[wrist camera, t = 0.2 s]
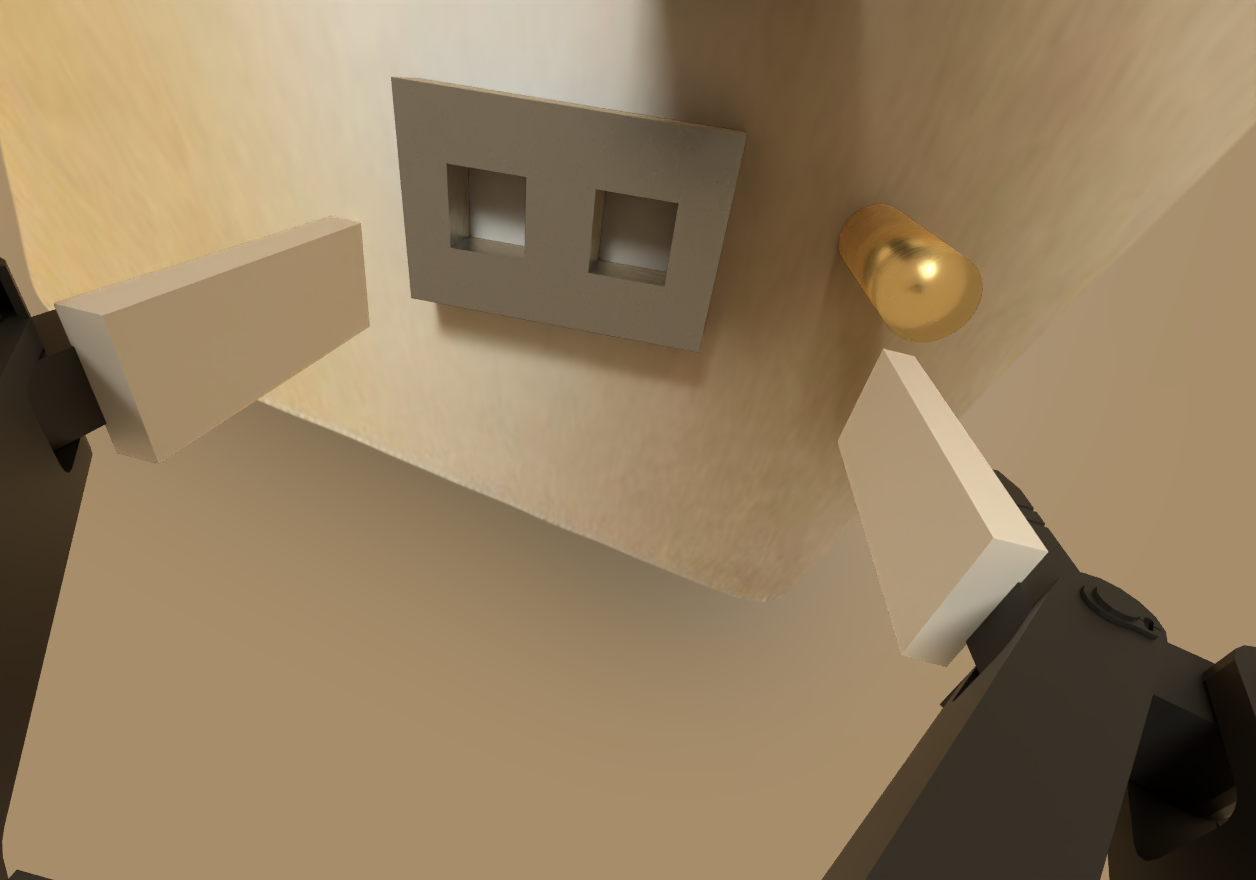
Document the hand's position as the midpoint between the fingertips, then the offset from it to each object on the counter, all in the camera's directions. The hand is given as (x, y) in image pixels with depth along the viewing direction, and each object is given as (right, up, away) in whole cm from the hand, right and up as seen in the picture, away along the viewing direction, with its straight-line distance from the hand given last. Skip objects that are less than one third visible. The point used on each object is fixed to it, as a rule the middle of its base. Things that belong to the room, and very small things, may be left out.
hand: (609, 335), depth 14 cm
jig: (-4, +14, +26) cm, 29 cm away
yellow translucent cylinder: (+17, +11, +23) cm, 31 cm away
